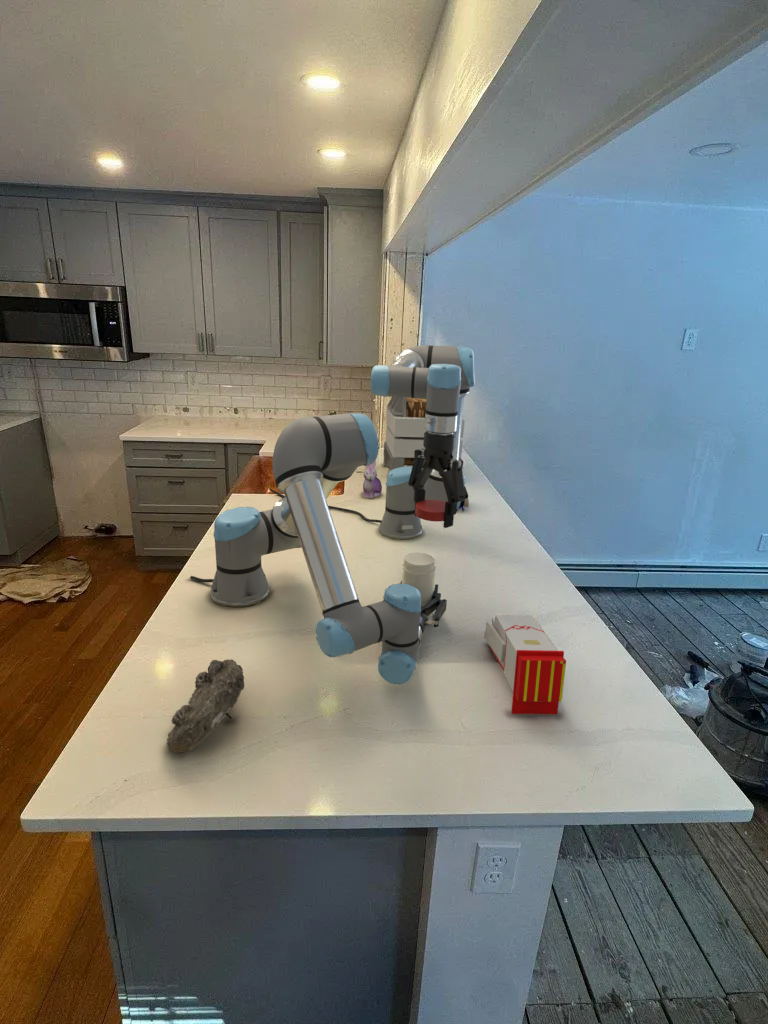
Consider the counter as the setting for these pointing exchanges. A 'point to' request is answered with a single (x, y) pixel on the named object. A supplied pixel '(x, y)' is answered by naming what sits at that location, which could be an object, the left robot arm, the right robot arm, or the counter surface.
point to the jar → (420, 575)
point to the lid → (430, 510)
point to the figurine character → (466, 501)
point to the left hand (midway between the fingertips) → (419, 586)
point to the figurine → (371, 482)
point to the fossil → (206, 705)
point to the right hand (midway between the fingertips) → (433, 520)
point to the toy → (527, 663)
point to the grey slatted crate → (406, 431)
